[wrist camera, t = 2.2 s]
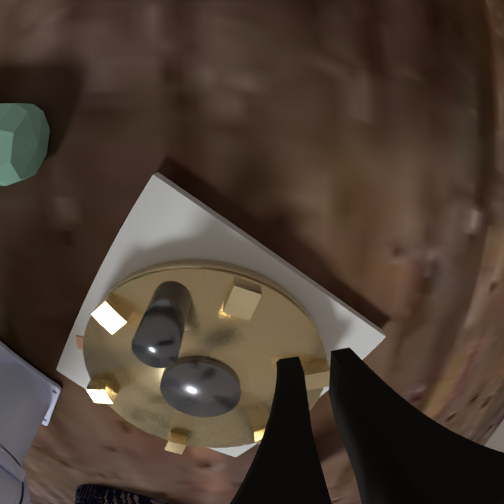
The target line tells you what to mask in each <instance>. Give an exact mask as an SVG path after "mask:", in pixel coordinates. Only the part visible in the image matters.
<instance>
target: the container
mask: <svg viewBox="0 0 504 504" xmlns="http://www.w3.org/2000/svg"><path fill="white" fill-rule="evenodd" d="M49 133H50V128H49V126H48V123H47V120H46V117H45V114H44V112H43V111H42V110H41V109H39V108H38V107H37V106H35V105H34V104H23V103H3V104H0V185H2V186H7V185H10V184H13V183H16V182H19V181H22V180H25V179H27V178H29V177H32V176H34V175H36V173H37V171H38V169H39V167H40V166H41V164H42V162H43V160H44V158H45V157H46V155H47V148H48V140H49Z"/></svg>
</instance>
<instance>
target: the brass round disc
mask: <svg viewBox="0 0 504 504" xmlns="http://www.w3.org/2000/svg"><path fill="white" fill-rule="evenodd" d="M83 356H84V361H85V366H86V369H87V372H88V374H89V377H90V379H91V380H90V381H89V383H88V385H87V388H86V390H87V392H88V394H89V395H90V397H91V398H92V400H93V401H94V403H107V404H108V405H109V406H110V407H111V408H112V409H113V410H115V411H116V412H117V413H118V414H119V415H120V416H122V417H123V418H124V419H126V420H127V421H128V422H130V423H131V424H133V425H135V426H136V427H138V428H140V429H141V430H143V431H145V432H147V433H149V434H152V435H154V436H157V437H159V438H162V439H165V440H166V444H165V450H167V451H171V452H174V453H178V454H182V453H183V451H184V449H185V447H186V445H188V446H195V447H204V448H228V447H238V446H243V445H249V444H253V443H258V444H259V445H260V443H261V440H262V437H263V434H264V431H265V428H266V425H267V422H268V419H269V415H270V411H271V407H272V402H273V398H274V393H275V386H276V378H277V366H276V362H277V361H278V360H279V359H284V358H291V357H297V356H299V359H300V361H301V364H302V367H303V370H304V375H305V382H306V389H307V397H308V405H309V411H310V410H311V409H312V407H313V406H314V405H315V403H316V402H317V400H318V399H319V397H320V395H321V393H322V391H323V388H324V387H328V386H329V380H330V365H329V362H328V360H327V356H326V352H325V349H324V345H323V342H322V339H321V337H320V334H319V331H318V329H317V327H316V325H315V323H314V320H313V318H312V317H311V315H310V314H309V312H308V311H307V310H306V308H305V307H304V305H303V304H302V303H301V302H300V301H299V300H298V299H297V298H296V297H295V296H294V295H293V294H292V293H290V292H289V291H288V290H286V289H285V288H284V287H283V286H281V285H280V284H278V283H277V282H275V281H273V280H271V279H270V278H268V277H266V276H265V275H262V274H260V273H258V272H255V271H253V270H250V269H248V268H245V267H241V266H238V265H234V264H231V263H227V262H221V261H214V260H205V259H182V260H171V261H166V262H162V263H157V264H153V265H150V266H147V267H145V268H142V269H139V270H137V271H135V272H133V273H132V274H130V275H128V276H126V277H124V278H123V279H122V280H121V281H119V282H118V283H117V284H115V285H114V286H113V287H112V288H111V289H110V290H109V291H108V293H107V294H106V295H105V296H104V297H103V299H102V300H101V301H100V303H99V304H98V305H97V307H96V308H95V309H94V311H93V312H92V314H91V317H90V318H89V321H88V323H87V326H86V329H85V332H84V338H83Z"/></svg>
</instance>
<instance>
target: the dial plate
mask: <svg viewBox="0 0 504 504" xmlns="http://www.w3.org/2000/svg"><path fill="white" fill-rule="evenodd" d="M182 259H205V260H214V261H221V262H227V263H231V264H234V265H238V266H241V267H245V268H248V269H250V270H253V271H255V272H258V273H260V274H262V275H265V276H266V277H268V278H270V279H271V280H273V281H275V282H277V283H278V284H280V285H281V286H283V287H284V288H285V289H286V290H288V291H289V292H290V293H292V294H293V295H294V296H295V297H296V298H297V299H298V300H299V301H300V302H301V303H302V304H303V305H304V307H305V308H306V310H307V311H308V312H309V314H310V315H311V317H312V318H313V320H314V323H315V325H316V327H317V329H318V331H319V334H320V337H321V339H322V342H323V345H324V349H325V352H326V356H327V360H328V362H329V365H330V359H331V351H333V350H338V349H343V348H348V347H349V348H351V349H352V350H353V351H354V352H355V353H356V354H357V355H358V356H359V357H360V359H361V360H363V359H364V358H365V357H366V356H367V355H368V354H369V353H370V352H371V351H372V350H373V349H374V348H375V347H376V346H377V345H378V344H379V343H380V342H381V341H382V340H383V339H384V338H385V337H386V336H385V335H384V333H383V331H382V330H381V329H380V328H379V327H378V326H376V325H375V324H373V323H372V322H371V321H369V320H368V319H367V318H365V317H364V316H362V315H361V314H360V313H358V312H357V311H355V310H354V309H353V308H351V307H350V306H348V305H347V304H346V303H344V302H343V301H341V300H340V299H339V298H337V297H336V296H334V295H333V294H332V293H330V292H329V291H327V290H326V289H325V288H323V287H322V286H320V285H319V284H318V283H316V282H315V281H313V280H312V279H311V278H309V277H308V276H306V275H305V274H304V273H302V272H301V271H299V270H298V269H297V268H295V267H294V266H292V265H291V264H289V263H288V262H287V261H285V260H284V259H282V258H281V257H280V256H278V255H277V254H275V253H274V252H272V251H271V250H270V249H268V248H267V247H265V246H264V245H262V244H261V243H260V242H258V241H257V240H255V239H254V238H253V237H251V236H250V235H248V234H247V233H245V232H244V231H243V230H241V229H240V228H238V227H237V226H235V225H234V224H232V223H231V222H230V221H228V220H227V219H225V218H224V217H222V216H221V215H220V214H218V213H217V212H215V211H214V210H212V209H211V208H209V207H208V206H207V205H205V204H204V203H202V202H201V201H199V200H198V199H196V198H195V197H194V196H192V195H191V194H189V193H188V192H186V191H185V190H183V189H182V188H180V187H179V186H178V185H176V184H175V183H173V182H172V181H170V180H169V179H167V178H166V177H164V176H163V175H162V174H160V173H159V172H157V173H155V174H153V175H152V177H151V178H150V180H149V182H148V183H147V185H146V186H145V188H144V190H143V191H142V193H141V195H140V196H139V198H138V200H137V201H136V203H135V205H134V206H133V208H132V210H131V211H130V213H129V215H128V217H127V218H126V220H125V222H124V224H123V226H122V227H121V229H120V231H119V233H118V235H117V236H116V238H115V240H114V242H113V244H112V246H111V248H110V249H109V251H108V253H107V255H106V257H105V259H104V261H103V263H102V265H101V267H100V269H99V271H98V273H97V275H96V277H95V279H94V281H93V283H92V285H91V287H90V290H89V292H88V294H87V296H86V298H85V300H84V302H83V305H82V307H81V309H80V311H79V314H78V316H77V318H76V321H75V323H74V325H73V328H72V330H71V333H70V335H69V337H68V340H67V342H66V345H65V347H64V350H63V353H62V355H61V358H60V360H59V363H58V366H57V369H56V370H57V371H58V372H60V373H61V374H63V375H64V376H66V377H67V378H69V379H70V380H72V381H74V382H75V383H77V384H78V385H80V386H82V387H83V388H85V389H86V388H87V385H88V383H89V381H90V380H91V379H90V377H89V374H88V372H87V369H86V366H85V361H84V356H83V338H84V332H85V329H86V326H87V323H88V321H89V318H90V317H91V314H92V312H93V311H94V309H95V308H96V307H97V305H98V304H99V303H100V301H101V300H102V299H103V297H104V296H105V295H106V294H107V293H108V291H109V290H110V289H111V288H112V287H113V286H114V285H115V284H117V283H118V282H119V281H121V280H122V279H123V278H124V277H126V276H128V275H130V274H132V273H133V272H135V271H137V270H139V269H142V268H145V267H147V266H150V265H153V264H157V263H162V262H166V261H171V260H182ZM328 390H329V386H328V387H324V388H323V391H322V393H321V395H320V396H322V395H323V394H324V393H325V392H326V391H328ZM256 444H257V443H253V444H249V445H243V446H238V447H228V448H210V449H213V450H216V451H218V452H221V453H224V454H227V455H230V456H233V457H237V456H239V455H240V454H242V453H243V452H245V451H246V450H248V449H250V448H251V447H253V446H254V445H256Z"/></svg>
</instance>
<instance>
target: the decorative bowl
mask: <svg viewBox="0 0 504 504" xmlns="http://www.w3.org/2000/svg"><path fill="white" fill-rule="evenodd" d="M92 486H93V488H92V491H91V494H90V496H89V498H88V501H87V500H86V497H87V495H88V492H89V489H90V487H92ZM95 486H96V488H95ZM87 487H88V489H87ZM102 487H103V488H102ZM77 488H78V489H77V491H76V499H75V500H76V501H75V504H83V503H84V504H104V503H105V499H104V496H105V494H106V490H107V489H108V487H106V486H99V485H91V484H89V485H80V486H78V487H77ZM86 489H87V491H86ZM94 489H95V490H97V491H96V493H94V494H93V492H94ZM101 490H102V491H101ZM113 490H115V494H114V493H113ZM79 491H80V492H79ZM122 491H123V490H120V489H115V488H111V487H109V492H108V495H107V498H106V500H108V501H107V503H108V504H111V503H112V504H114V501H112V500H113V498H114V495H115V496H116V497H115V499H117V501H116V502H117V503H118V504H123V502H122V498H120V496H121V494H122ZM85 492H86V493H85ZM123 492H124V493H123V494H124V495H125V497H124V499H125V500H126V499H127V494H128V493H130V496H129V498H131V500H130V501H132V504H136V502H135V500H133V497H134V495H137V497H139V499H138V503H139V504H152V502H150V499H151V500H154V501H156V502H159V503H162V504H168V503H165V502H162V501H159V500H156V499H153V498H149V497H146V496H142V495H139V494H135V493H132V492H127V491H123ZM84 494H85V496H84ZM92 494H93V496H92ZM95 496H96V498H95ZM99 496H100V497H101V498H99ZM91 497H92V498H91ZM98 498H99V500H98ZM90 500H91V501H90ZM101 500H102V503H100V501H101ZM97 501H98V502H97ZM125 504H128V500H126V501H125Z"/></svg>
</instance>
